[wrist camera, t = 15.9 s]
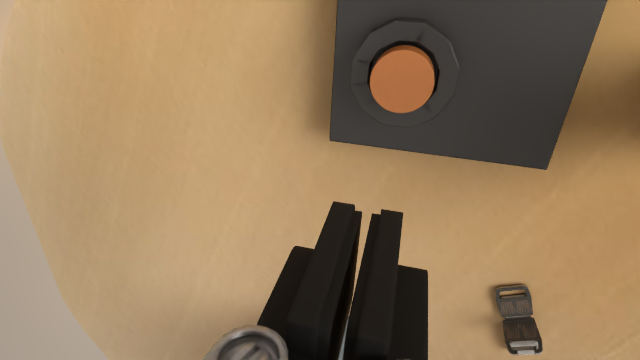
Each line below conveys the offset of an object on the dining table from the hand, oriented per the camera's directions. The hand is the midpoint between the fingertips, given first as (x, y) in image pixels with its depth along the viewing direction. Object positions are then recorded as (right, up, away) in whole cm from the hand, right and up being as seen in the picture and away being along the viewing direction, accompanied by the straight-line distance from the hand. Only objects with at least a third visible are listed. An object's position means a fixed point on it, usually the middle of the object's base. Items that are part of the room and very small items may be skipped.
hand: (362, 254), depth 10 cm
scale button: (+4, +9, +16) cm, 19 cm away
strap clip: (+18, -11, +29) cm, 36 cm away
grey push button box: (+8, +10, +19) cm, 23 cm away
